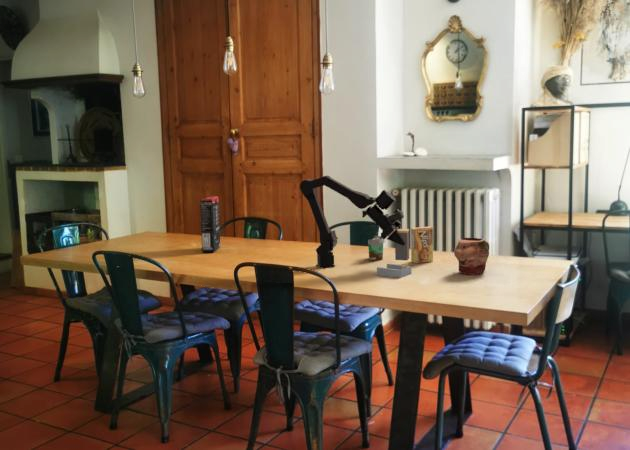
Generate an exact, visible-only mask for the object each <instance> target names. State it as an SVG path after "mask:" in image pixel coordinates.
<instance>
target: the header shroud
mask: <svg viewBox="0 0 630 450" xmlns="http://www.w3.org/2000/svg"><path fill="white" fill-rule="evenodd" d="M412 271H413V270H412V265H411V266H410V265H409V262H406V263H405V262H404V263H401V264H392V263H386V267H378V266H377V268H376V276H383V277H388V278H389V277H391V278H400V279H401V278H404V277H406V276H409V275H411V274H412V273H413V272H412Z"/></svg>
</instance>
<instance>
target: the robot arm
mask: <svg viewBox="0 0 630 450" xmlns="http://www.w3.org/2000/svg"><path fill="white" fill-rule="evenodd" d="M324 186H325V187H327V188H329V189H331V190H333V191H334V192H336V193H338V194H339V195H341V196H343V197H345V198H347V199H348V200H349V201H350V202H351V204H353V205H354V206H355V207H357V209H359V210H360V209H361V210H362V213H361V214H362V218H365V217H366V216H368V218H370V219H371V221H373V222H374V223H375V224H374V225H375V226H376V227H379V228H380V230H381V233H380V236H381V237H382V238H383V239H384V240H385V239H386V240H387V241H391V242H393V243H395V242H396V243H398V244H401V245H403V246H404V245H405V243H404V241H403V240H402V239H401V237H400V236H399V234H398V229H402V225H401V224H402V222H401V221H400V220H402V219H404V218H405V216H404V212H403V211H402V210H399V208H398V209H395V210H394V211H393V213H392V214H388V213H385V212H384V211H383V210H388V209H389V208H390V207H391V206H392V205H393V204H394V203H396V201H397V199H396V198H395V196H394V195H393V194H391V193H390V192H389V191H386V189H383V190H381V193H380V194H378V196H377V197H372V196H370V195H368V194H366V193H363V192H360V191H356V190H354V189H352V188H350V187H348V186H346V185H345V184H343V183H341V182H339V181H338V180H335V178H332V177H331V176H329V175H324V176H322V177H318V178H316V179H313V178H308V179H304V180H302V181H301V182H300V184H299V190H300V191H301V193H302V195H303V197H304V198H305V199H306V201H307V202H308V204H309V207H310V209H311V211H312V215H313V218H314V221H315V223H316V225H317V228H318V231H319V232H318V233H319V241H320V243H319V244H320V245H319V246H318V247H317V248H316V249H315V252H316V259H317V264H316V265H315V267H318V268H320V269H327V268H333V267H336V265H335V255H334V252H333V251H334V248H335V247H336V246H337V244H338V239H339V238H338V236H337V234H336V233H337V232H336V230H335V229H334V230H332V229H331V228H330V226H329V225H328V221H327V219H326V216H325V214H324V211H323V208H322V205H321V202H320V199H319V194H318V193H319V192H318V188H319V187H324ZM371 205H373V206H371ZM367 207H368V208H367ZM365 208H366V209H365Z"/></svg>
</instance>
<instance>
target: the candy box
mask: <svg viewBox="0 0 630 450" xmlns="http://www.w3.org/2000/svg"><path fill="white" fill-rule="evenodd" d="M433 237H434V228H433V227H431V226H421V227H411V229H410V248H411V255H410V256H411V257H410V258H411V259H410V261H411V263H413V264H420V263H430V262H431V263H432V262H434V239H433Z"/></svg>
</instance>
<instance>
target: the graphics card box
mask: <svg viewBox="0 0 630 450" xmlns="http://www.w3.org/2000/svg"><path fill="white" fill-rule="evenodd" d="M219 204H220V203H219V196H218V195H217V196H215V195H214V196H213V195H211V196H208V197H205V198H202V199H201V200H199V205H200V209H199V210H200V230H201V232H200V233H201V235H200V236H201V252H202V253H215V252H216V251H217V250H219V249H220V248H221V233H220V229H221V228H220V227H221V226H220V205H219Z"/></svg>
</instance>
